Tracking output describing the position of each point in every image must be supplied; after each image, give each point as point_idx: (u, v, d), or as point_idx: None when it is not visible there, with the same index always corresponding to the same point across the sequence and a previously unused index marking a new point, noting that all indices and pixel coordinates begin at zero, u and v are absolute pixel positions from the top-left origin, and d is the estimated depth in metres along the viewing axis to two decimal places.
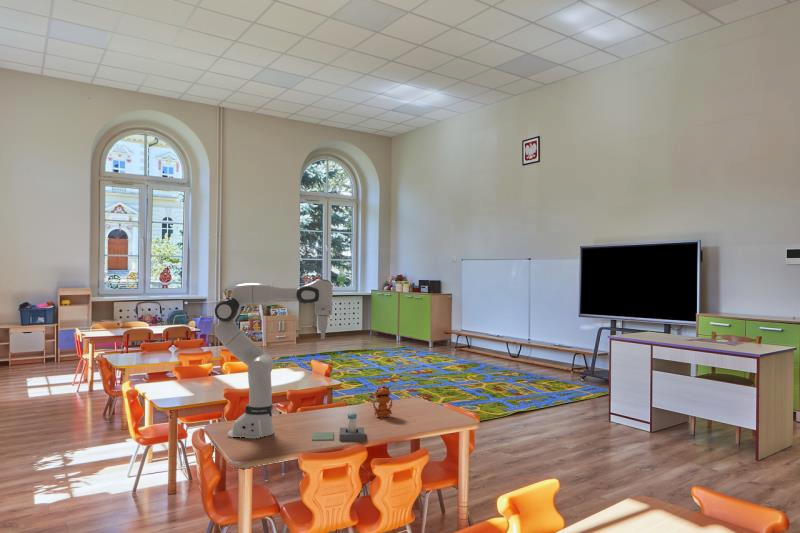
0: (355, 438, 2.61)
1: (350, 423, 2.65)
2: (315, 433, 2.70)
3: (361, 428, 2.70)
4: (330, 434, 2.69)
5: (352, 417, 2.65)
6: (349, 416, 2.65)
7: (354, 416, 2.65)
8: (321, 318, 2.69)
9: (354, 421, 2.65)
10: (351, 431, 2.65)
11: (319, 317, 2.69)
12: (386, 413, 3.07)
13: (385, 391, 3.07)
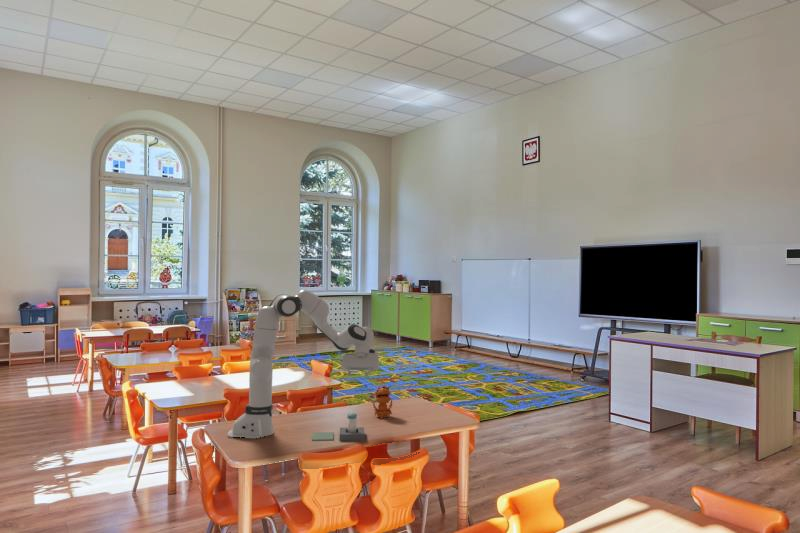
0: (355, 438, 2.61)
1: (350, 423, 2.65)
2: (315, 433, 2.70)
3: (361, 428, 2.70)
4: (330, 434, 2.69)
5: (352, 417, 2.65)
6: (349, 416, 2.65)
7: (354, 416, 2.65)
8: (378, 358, 2.86)
9: (354, 421, 2.65)
10: (351, 431, 2.65)
11: (377, 357, 2.86)
12: (386, 413, 3.07)
13: (385, 391, 3.07)
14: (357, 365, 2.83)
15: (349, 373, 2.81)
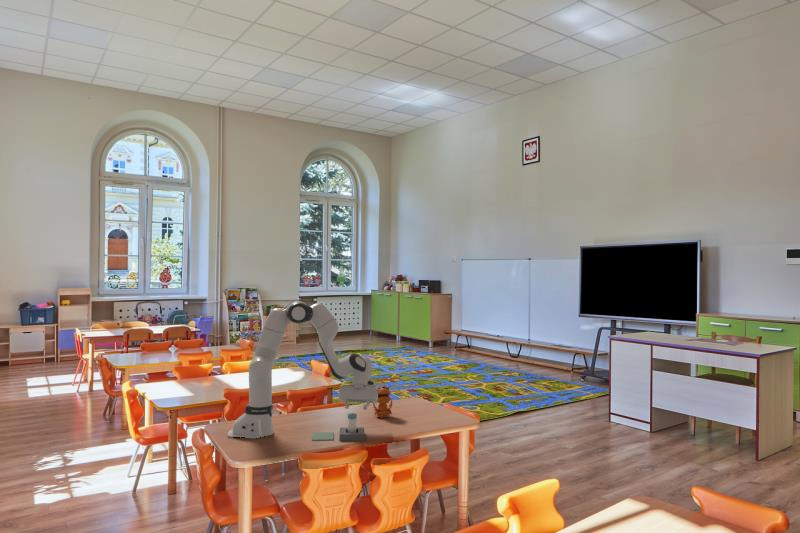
0: (355, 438, 2.61)
1: (350, 423, 2.65)
2: (315, 433, 2.70)
3: (361, 428, 2.70)
4: (330, 434, 2.69)
5: (352, 417, 2.65)
6: (349, 416, 2.65)
7: (354, 416, 2.65)
8: None
9: (354, 421, 2.65)
10: (351, 431, 2.65)
11: (376, 389, 2.79)
12: (386, 413, 3.07)
13: (385, 391, 3.07)
14: (355, 397, 2.76)
15: (347, 405, 2.74)
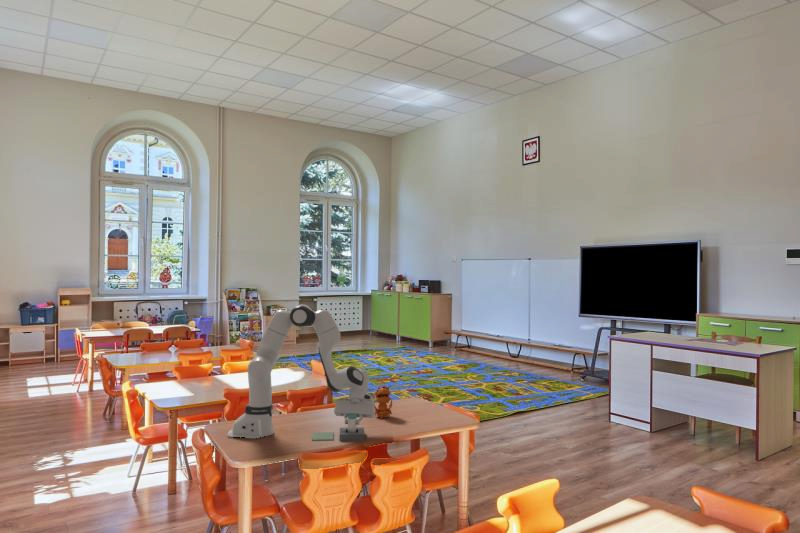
0: (355, 438, 2.61)
1: (350, 423, 2.65)
2: (315, 433, 2.70)
3: (361, 428, 2.70)
4: (330, 434, 2.69)
5: (352, 417, 2.65)
6: (349, 416, 2.65)
7: (354, 416, 2.65)
8: (373, 405, 2.72)
9: (354, 421, 2.65)
10: (351, 431, 2.65)
11: (373, 403, 2.72)
12: (386, 413, 3.07)
13: (385, 391, 3.07)
14: (351, 412, 2.69)
15: (346, 421, 2.67)
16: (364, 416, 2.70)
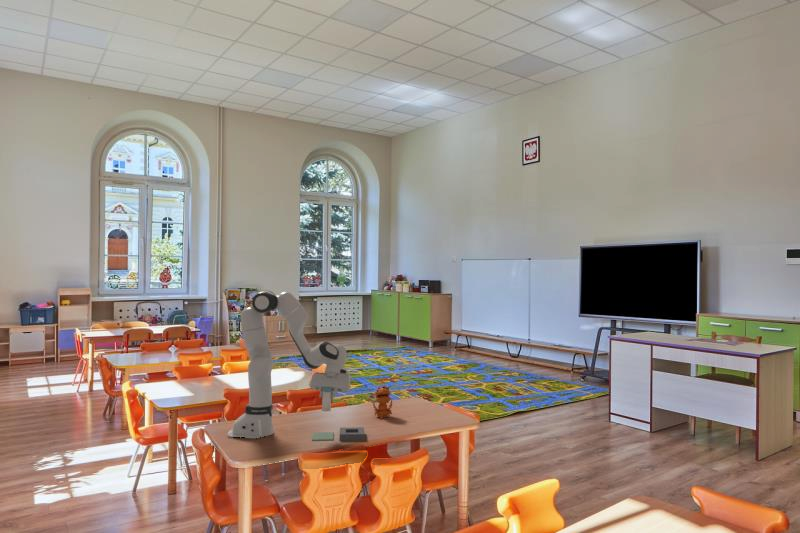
0: (355, 438, 2.61)
1: (324, 397, 2.65)
2: (315, 433, 2.70)
3: (361, 428, 2.70)
4: (330, 434, 2.69)
5: (327, 390, 2.65)
6: (324, 389, 2.65)
7: (329, 389, 2.65)
8: (349, 379, 2.72)
9: (329, 394, 2.65)
10: (325, 404, 2.65)
11: (348, 377, 2.71)
12: (386, 413, 3.07)
13: (385, 391, 3.07)
14: (326, 385, 2.69)
15: (321, 394, 2.67)
16: (339, 390, 2.70)
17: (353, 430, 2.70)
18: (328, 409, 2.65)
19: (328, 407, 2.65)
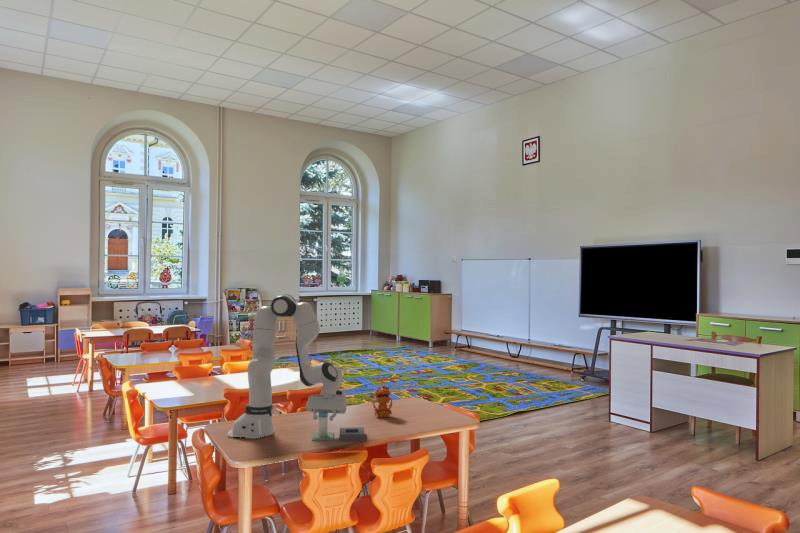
0: (355, 438, 2.61)
1: (320, 422, 2.65)
2: (315, 433, 2.70)
3: (361, 428, 2.70)
4: (330, 434, 2.69)
5: (323, 416, 2.64)
6: (320, 415, 2.65)
7: (325, 415, 2.65)
8: (345, 401, 2.72)
9: (325, 420, 2.65)
10: (322, 430, 2.64)
11: (345, 399, 2.71)
12: (386, 413, 3.07)
13: (385, 391, 3.07)
14: (323, 408, 2.69)
15: (315, 416, 2.67)
16: None
17: (353, 430, 2.70)
18: (325, 434, 2.65)
19: (325, 432, 2.65)
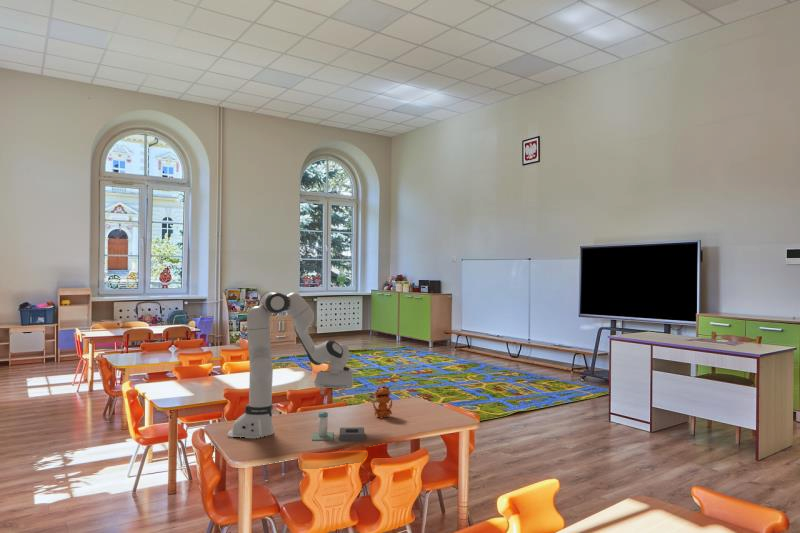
0: (355, 438, 2.61)
1: (320, 422, 2.65)
2: (315, 433, 2.70)
3: (361, 428, 2.70)
4: (330, 434, 2.69)
5: (323, 416, 2.64)
6: (320, 415, 2.65)
7: (325, 415, 2.65)
8: (352, 376, 2.84)
9: (325, 420, 2.65)
10: (322, 430, 2.64)
11: (351, 374, 2.84)
12: (386, 413, 3.07)
13: (385, 391, 3.07)
14: (331, 383, 2.82)
15: (322, 391, 2.79)
16: None
17: (353, 430, 2.70)
18: (325, 434, 2.65)
19: (325, 432, 2.65)
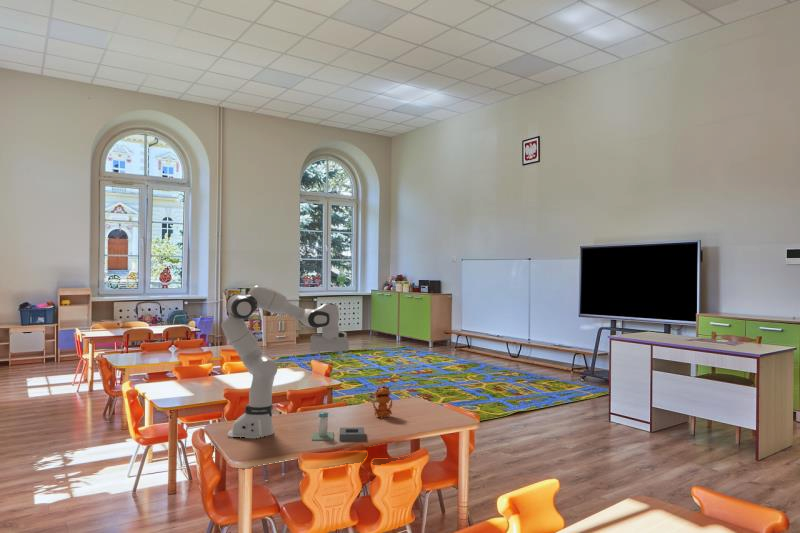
0: (355, 438, 2.61)
1: (321, 422, 2.65)
2: (315, 433, 2.70)
3: (361, 428, 2.70)
4: (330, 434, 2.69)
5: (323, 416, 2.64)
6: (320, 415, 2.65)
7: (325, 415, 2.65)
8: (347, 340, 2.91)
9: (325, 420, 2.65)
10: (322, 430, 2.64)
11: (347, 339, 2.90)
12: (386, 413, 3.07)
13: (385, 391, 3.07)
14: (328, 350, 2.89)
15: (321, 358, 2.89)
16: None
17: (353, 430, 2.70)
18: (325, 434, 2.65)
19: (325, 432, 2.65)
